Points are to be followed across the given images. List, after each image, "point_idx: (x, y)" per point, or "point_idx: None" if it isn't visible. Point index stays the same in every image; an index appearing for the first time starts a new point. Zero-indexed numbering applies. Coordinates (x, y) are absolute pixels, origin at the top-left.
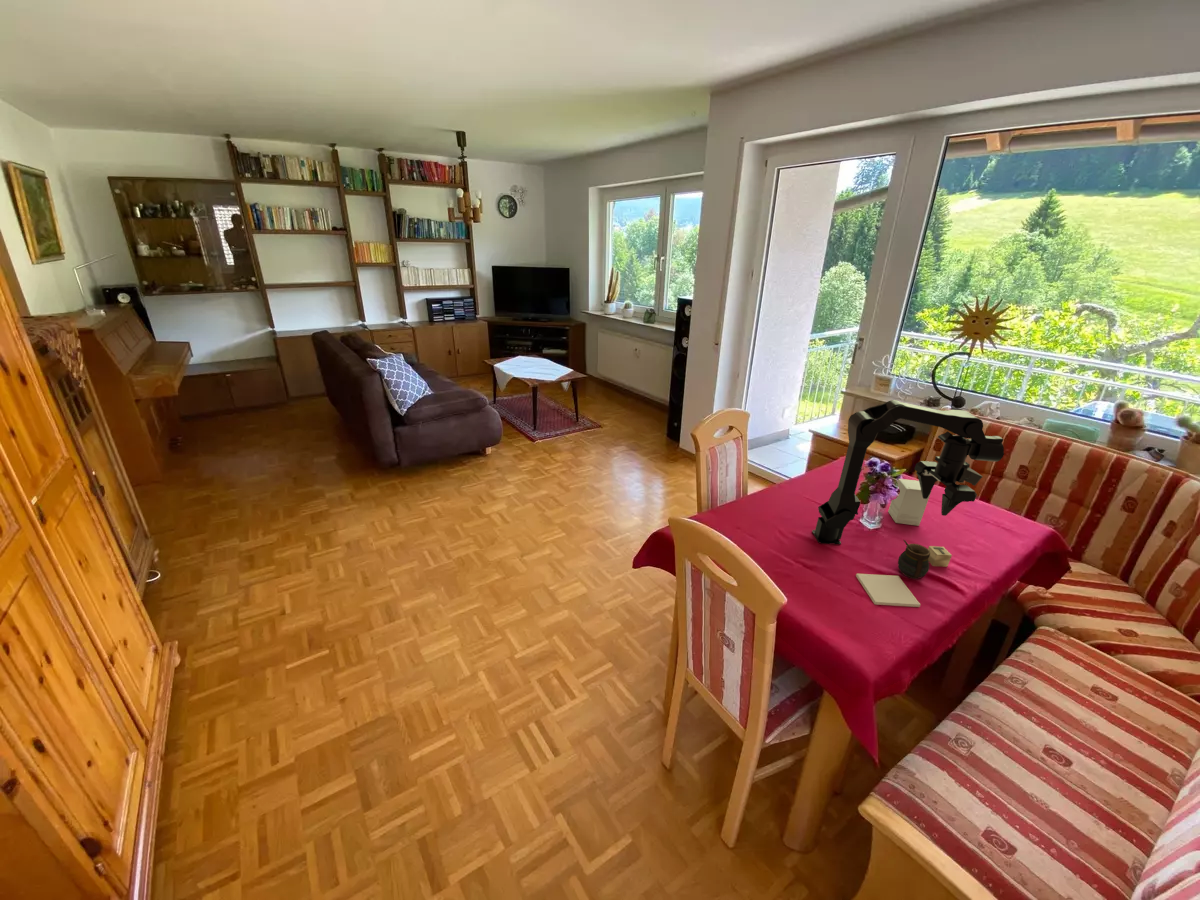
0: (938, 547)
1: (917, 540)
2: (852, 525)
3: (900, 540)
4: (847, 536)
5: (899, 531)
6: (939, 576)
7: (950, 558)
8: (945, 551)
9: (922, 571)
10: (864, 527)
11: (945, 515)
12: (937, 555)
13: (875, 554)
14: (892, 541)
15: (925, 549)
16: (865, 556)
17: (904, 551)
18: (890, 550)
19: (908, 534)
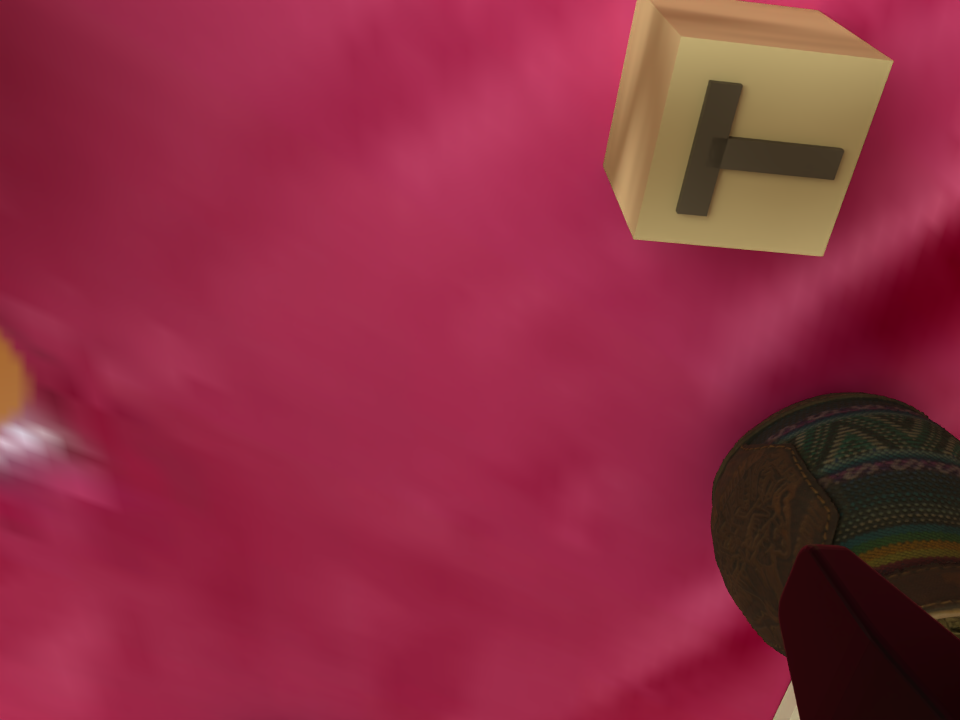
0: (698, 143)
1: (232, 17)
2: (25, 560)
3: (259, 244)
4: (245, 659)
5: (31, 136)
6: (932, 229)
7: (869, 47)
8: (792, 93)
9: None
10: (37, 477)
11: (834, 555)
12: (820, 242)
13: (518, 579)
14: (290, 341)
15: (940, 606)
16: (540, 650)
17: (775, 644)
18: (460, 441)
19: (87, 53)
